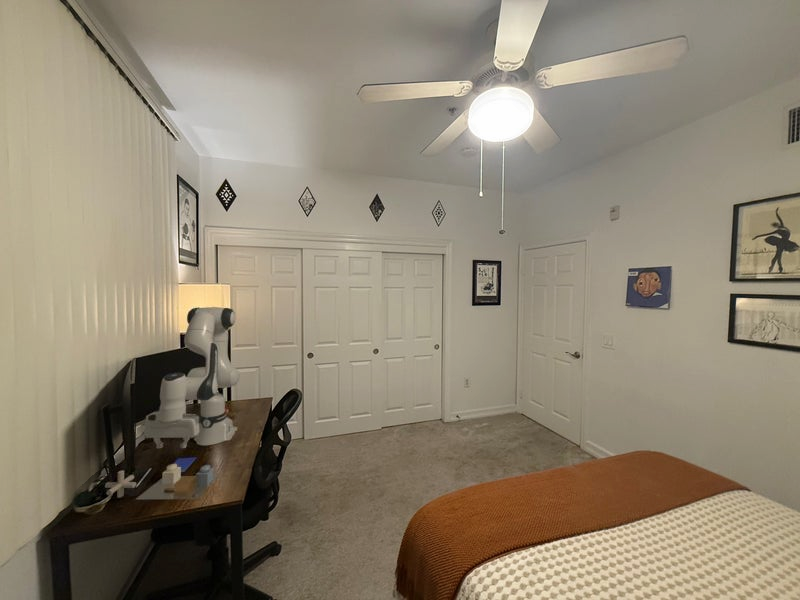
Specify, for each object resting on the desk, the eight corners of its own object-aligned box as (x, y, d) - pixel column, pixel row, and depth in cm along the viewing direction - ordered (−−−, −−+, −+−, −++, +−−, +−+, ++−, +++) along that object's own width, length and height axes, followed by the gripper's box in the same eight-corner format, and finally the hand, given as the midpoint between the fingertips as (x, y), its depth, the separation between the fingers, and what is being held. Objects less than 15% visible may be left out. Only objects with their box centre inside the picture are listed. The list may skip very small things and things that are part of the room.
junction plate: (164, 478, 130) (164, 475, 130) (217, 477, 131) (217, 475, 131) (135, 501, 115) (135, 498, 115) (195, 500, 116) (196, 497, 116)
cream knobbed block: (169, 477, 129) (170, 463, 129) (180, 477, 129) (180, 463, 130) (162, 483, 125) (162, 468, 125) (173, 483, 125) (173, 468, 125)
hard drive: (184, 471, 134) (197, 457, 146) (162, 472, 132) (177, 458, 144) (183, 474, 134) (197, 460, 146) (162, 476, 132) (177, 461, 144)
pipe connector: (144, 490, 122) (145, 464, 122) (122, 506, 112) (123, 479, 112) (118, 490, 121) (118, 464, 122) (94, 507, 112) (94, 479, 112)
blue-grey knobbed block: (202, 478, 129) (203, 464, 129) (213, 478, 129) (213, 464, 129) (196, 484, 125) (196, 470, 125) (207, 484, 125) (207, 469, 125)
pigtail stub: (168, 486, 123) (168, 476, 123) (196, 486, 123) (197, 476, 123) (158, 495, 118) (158, 484, 118) (188, 495, 118) (188, 484, 118)
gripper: (203, 411, 131) (202, 444, 130) (153, 411, 130) (152, 444, 130) (194, 416, 124) (192, 451, 124) (141, 416, 124) (140, 451, 123)
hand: (171, 447), depth 127 cm, fingers open, 8 cm apart
